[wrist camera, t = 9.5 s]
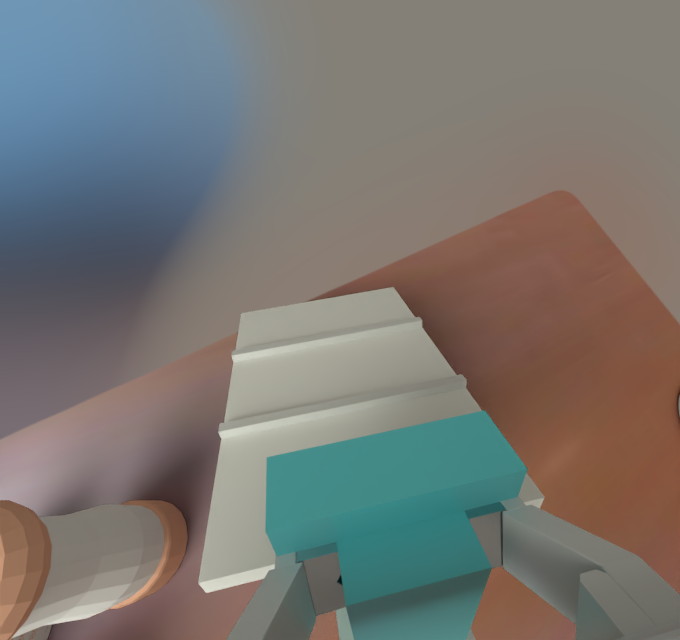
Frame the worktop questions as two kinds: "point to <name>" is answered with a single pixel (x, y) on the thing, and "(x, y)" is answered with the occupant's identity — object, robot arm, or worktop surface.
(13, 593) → the pepper shaker
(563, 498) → the worktop surface
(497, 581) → the worktop surface
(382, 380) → the lid
